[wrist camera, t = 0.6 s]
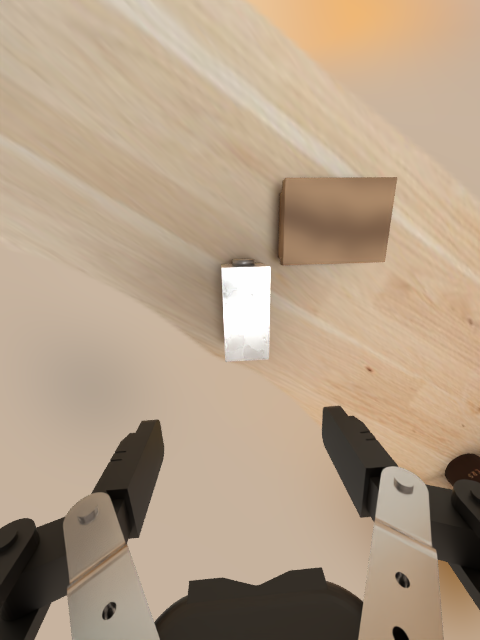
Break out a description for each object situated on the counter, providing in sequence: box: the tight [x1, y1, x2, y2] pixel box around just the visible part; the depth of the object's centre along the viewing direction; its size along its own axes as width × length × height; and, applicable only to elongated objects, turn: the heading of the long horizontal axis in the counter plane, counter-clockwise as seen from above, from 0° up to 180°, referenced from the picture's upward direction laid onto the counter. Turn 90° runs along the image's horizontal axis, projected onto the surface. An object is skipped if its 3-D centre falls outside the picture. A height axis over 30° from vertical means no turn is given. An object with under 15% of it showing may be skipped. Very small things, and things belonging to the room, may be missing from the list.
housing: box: [221, 259, 270, 362], centre depth 28 cm, size 11×5×6 cm, turn 1°
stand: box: [278, 177, 397, 265], centre depth 26 cm, size 8×11×4 cm
